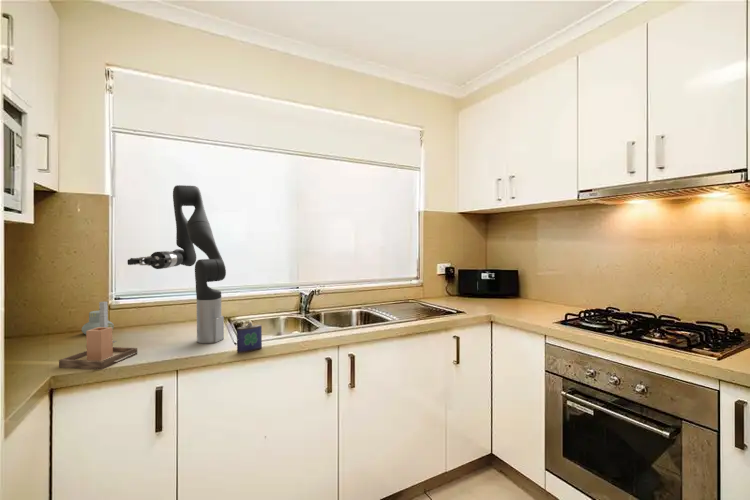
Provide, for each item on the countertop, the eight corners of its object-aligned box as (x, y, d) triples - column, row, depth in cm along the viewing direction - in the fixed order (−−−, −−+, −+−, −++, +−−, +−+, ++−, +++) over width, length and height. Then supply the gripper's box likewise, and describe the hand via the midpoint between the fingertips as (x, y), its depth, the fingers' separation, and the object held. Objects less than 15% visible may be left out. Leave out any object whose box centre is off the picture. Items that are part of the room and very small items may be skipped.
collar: (112, 355, 126) (112, 327, 126) (101, 360, 122) (101, 331, 121) (98, 355, 127) (98, 327, 126) (86, 360, 122) (86, 330, 121)
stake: (117, 343, 144) (116, 300, 143) (105, 348, 138) (105, 303, 137) (102, 343, 144) (101, 300, 143) (90, 347, 138) (89, 303, 137)
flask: (260, 347, 140) (260, 319, 140) (263, 349, 138) (263, 321, 138) (236, 351, 135) (235, 323, 134) (238, 353, 132) (238, 324, 132)
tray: (137, 354, 131) (137, 348, 131) (101, 369, 116) (101, 362, 116) (99, 352, 132) (99, 346, 132) (59, 367, 118) (58, 360, 117)
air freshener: (101, 331, 163) (100, 308, 162) (117, 331, 161) (116, 309, 161) (77, 337, 152) (77, 313, 152) (94, 338, 151) (94, 314, 150)
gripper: (147, 251, 161) (121, 252, 145) (179, 251, 161) (156, 253, 144) (148, 268, 161) (121, 271, 145) (179, 268, 161) (156, 271, 145)
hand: (139, 262), depth 145 cm, fingers open, 8 cm apart
